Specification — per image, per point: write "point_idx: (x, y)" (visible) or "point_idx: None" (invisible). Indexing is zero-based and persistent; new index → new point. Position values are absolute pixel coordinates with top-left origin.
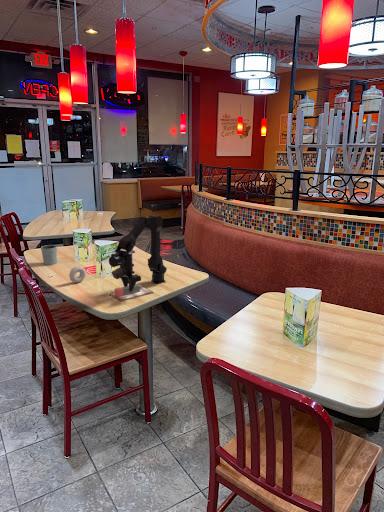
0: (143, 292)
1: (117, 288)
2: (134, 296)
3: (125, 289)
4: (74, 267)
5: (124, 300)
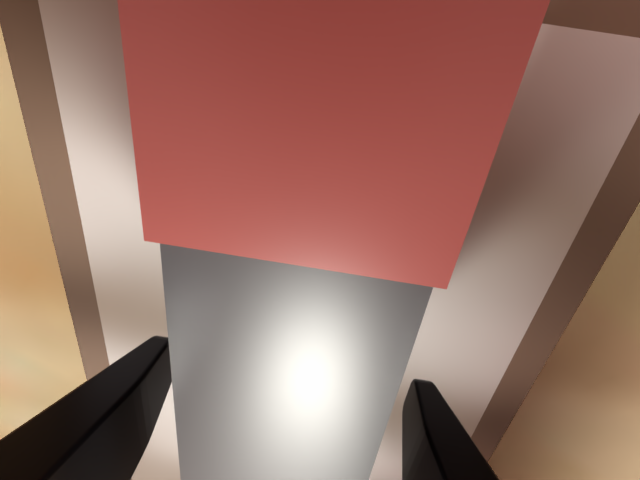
0: (166, 448)
1: (432, 140)
2: (96, 287)
3: (174, 305)
4: None
5: (6, 2)
